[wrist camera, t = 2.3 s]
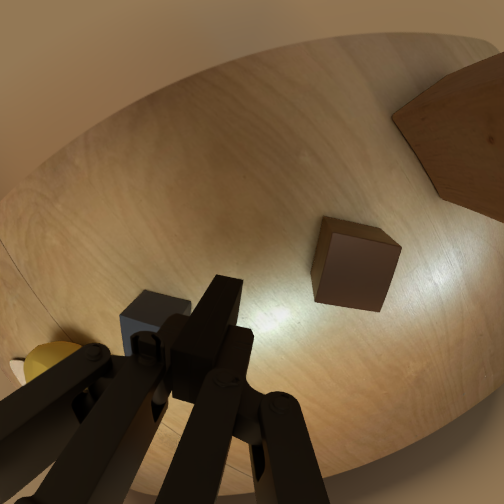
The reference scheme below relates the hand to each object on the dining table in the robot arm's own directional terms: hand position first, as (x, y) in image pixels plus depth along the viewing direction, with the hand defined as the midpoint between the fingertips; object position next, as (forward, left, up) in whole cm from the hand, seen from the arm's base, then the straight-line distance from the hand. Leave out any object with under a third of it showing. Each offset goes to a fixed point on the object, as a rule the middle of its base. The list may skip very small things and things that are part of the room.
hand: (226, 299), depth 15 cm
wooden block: (-15, +18, -13) cm, 26 cm away
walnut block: (0, +9, -13) cm, 16 cm away
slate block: (+12, -9, -13) cm, 20 cm away
